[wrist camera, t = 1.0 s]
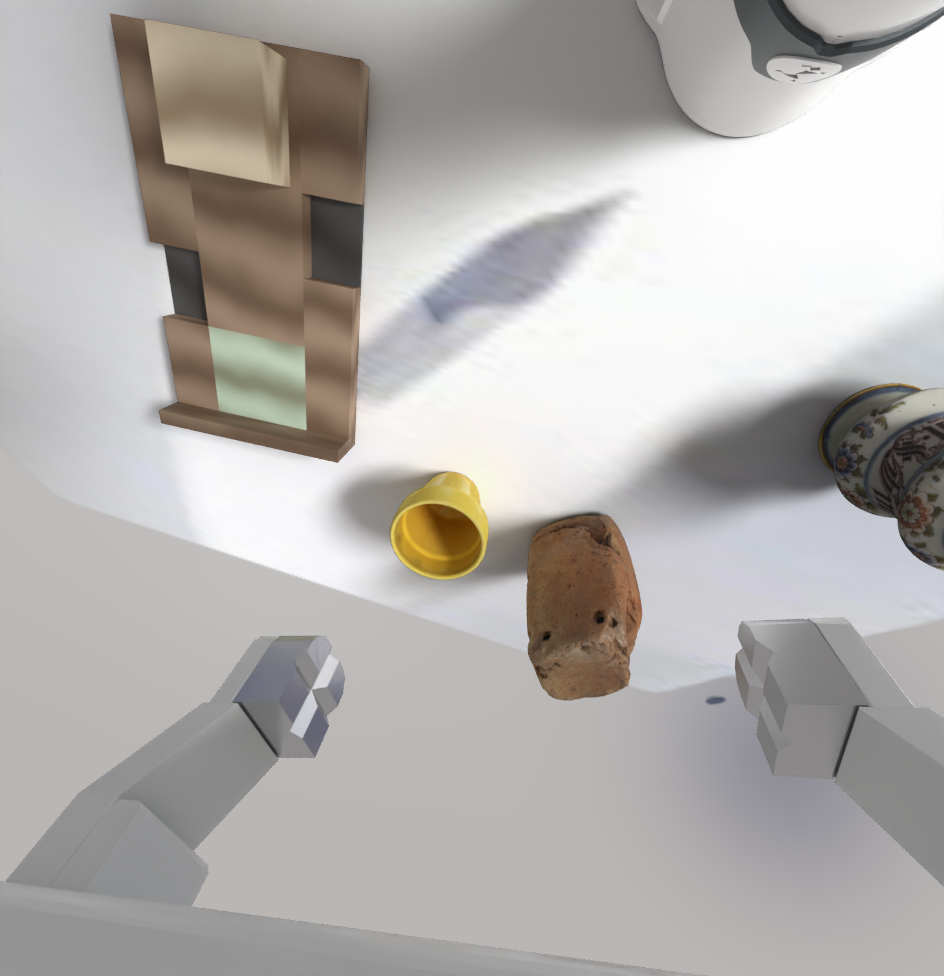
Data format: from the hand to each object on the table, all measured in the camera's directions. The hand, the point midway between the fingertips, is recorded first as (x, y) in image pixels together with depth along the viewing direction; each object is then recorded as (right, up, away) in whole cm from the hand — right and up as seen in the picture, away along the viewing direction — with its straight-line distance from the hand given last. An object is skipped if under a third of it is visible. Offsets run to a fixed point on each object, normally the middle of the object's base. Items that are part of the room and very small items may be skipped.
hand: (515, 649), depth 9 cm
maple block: (-20, +34, +28) cm, 49 cm away
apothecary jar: (+39, +9, +35) cm, 53 cm away
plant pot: (-3, +2, +46) cm, 46 cm away
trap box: (-22, +25, +36) cm, 49 cm away
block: (+12, -3, +47) cm, 48 cm away
